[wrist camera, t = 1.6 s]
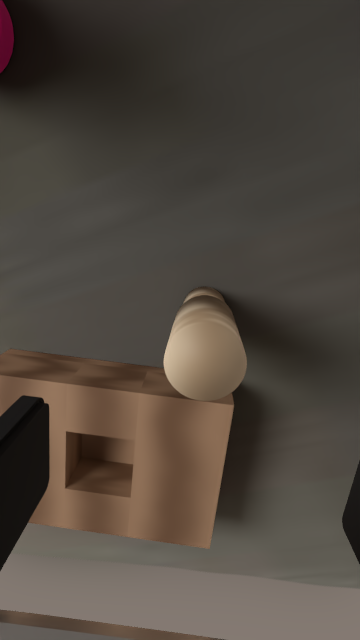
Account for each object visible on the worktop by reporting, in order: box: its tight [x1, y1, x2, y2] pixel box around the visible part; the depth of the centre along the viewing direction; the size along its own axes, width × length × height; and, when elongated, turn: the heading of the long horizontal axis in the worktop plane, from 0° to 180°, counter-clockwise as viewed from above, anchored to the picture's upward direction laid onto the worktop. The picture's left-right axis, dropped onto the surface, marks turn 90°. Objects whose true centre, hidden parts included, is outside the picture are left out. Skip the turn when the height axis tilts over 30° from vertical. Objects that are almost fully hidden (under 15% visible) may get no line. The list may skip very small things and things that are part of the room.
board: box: [0, 349, 234, 549], centre depth 30 cm, size 20×14×5 cm
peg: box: [164, 287, 247, 401], centre depth 23 cm, size 4×4×12 cm
